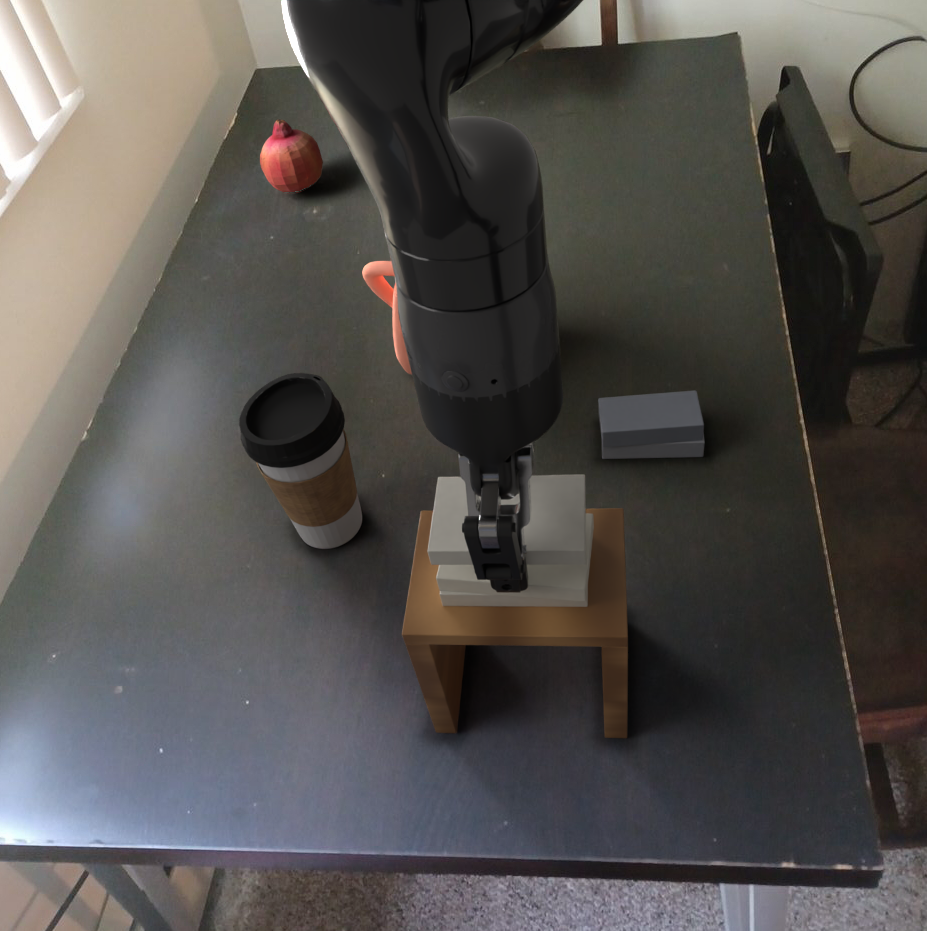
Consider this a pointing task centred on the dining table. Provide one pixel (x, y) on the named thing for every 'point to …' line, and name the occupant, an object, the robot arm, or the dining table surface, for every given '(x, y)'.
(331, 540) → the coffee cup
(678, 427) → the grey books
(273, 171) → the fruit
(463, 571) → the white books
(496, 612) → the shelf
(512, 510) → the robot arm
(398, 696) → the dining table surface
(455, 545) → the white book
